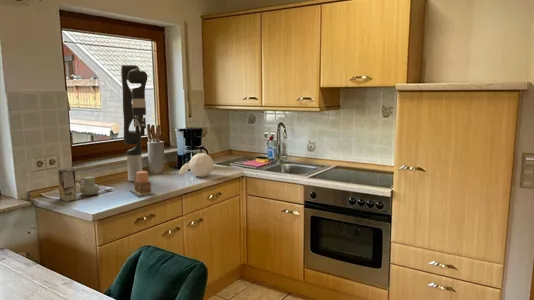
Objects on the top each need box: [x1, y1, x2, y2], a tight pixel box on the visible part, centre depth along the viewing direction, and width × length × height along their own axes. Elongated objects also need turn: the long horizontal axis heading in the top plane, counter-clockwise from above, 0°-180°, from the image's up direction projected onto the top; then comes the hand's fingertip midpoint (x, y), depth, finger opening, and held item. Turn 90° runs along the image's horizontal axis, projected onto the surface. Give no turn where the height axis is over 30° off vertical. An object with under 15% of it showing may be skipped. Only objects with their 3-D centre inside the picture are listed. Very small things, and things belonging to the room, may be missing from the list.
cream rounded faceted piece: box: [178, 152, 215, 178], centre depth 283 cm, size 16×22×28 cm
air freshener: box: [79, 176, 100, 196], centre depth 232 cm, size 11×8×10 cm
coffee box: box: [57, 168, 77, 202], centre depth 222 cm, size 9×6×16 cm
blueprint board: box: [129, 188, 157, 198], centre depth 236 cm, size 17×10×1 cm, turn 35°
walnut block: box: [133, 180, 152, 194], centre depth 236 cm, size 10×6×6 cm, turn 37°
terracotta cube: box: [136, 170, 149, 183], centre depth 235 cm, size 6×6×6 cm
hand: (140, 135), depth 231 cm, fingers open, 8 cm apart
